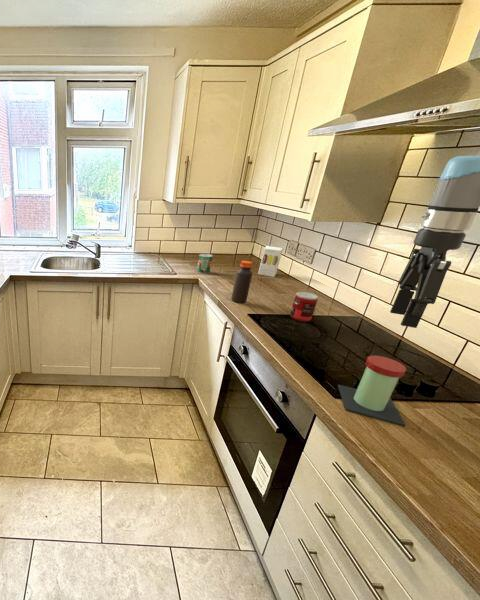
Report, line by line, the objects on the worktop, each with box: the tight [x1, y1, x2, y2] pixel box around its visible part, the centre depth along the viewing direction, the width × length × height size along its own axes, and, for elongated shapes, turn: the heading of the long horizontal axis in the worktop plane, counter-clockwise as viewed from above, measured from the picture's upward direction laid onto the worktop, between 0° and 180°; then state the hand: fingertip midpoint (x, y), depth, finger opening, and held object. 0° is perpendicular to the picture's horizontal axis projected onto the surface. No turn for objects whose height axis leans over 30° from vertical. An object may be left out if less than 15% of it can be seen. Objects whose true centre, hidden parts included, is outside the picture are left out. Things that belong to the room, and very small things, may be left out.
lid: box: [364, 355, 407, 379], centre depth 83 cm, size 8×8×2 cm
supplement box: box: [257, 245, 284, 278], centre depth 195 cm, size 10×9×17 cm
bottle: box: [231, 260, 254, 304], centre depth 153 cm, size 7×7×20 cm
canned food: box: [289, 291, 319, 323], centre depth 137 cm, size 8×8×11 cm
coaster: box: [337, 384, 406, 427], centre depth 87 cm, size 12×12×1 cm
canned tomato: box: [196, 253, 213, 275], centre depth 200 cm, size 8×8×11 cm
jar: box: [354, 365, 401, 411], centre depth 85 cm, size 7×7×12 cm
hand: (402, 319), depth 80 cm, fingers open, 8 cm apart
